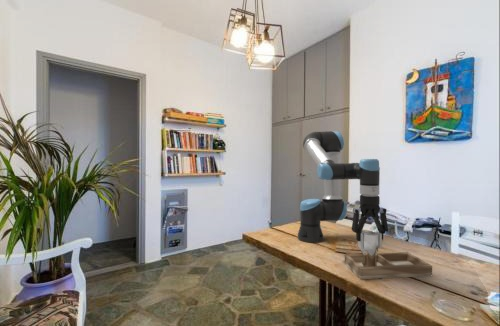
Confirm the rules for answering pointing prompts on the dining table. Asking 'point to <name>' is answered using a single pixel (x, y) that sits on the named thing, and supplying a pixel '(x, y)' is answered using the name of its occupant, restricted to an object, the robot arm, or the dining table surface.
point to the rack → (389, 266)
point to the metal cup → (369, 248)
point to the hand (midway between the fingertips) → (369, 247)
